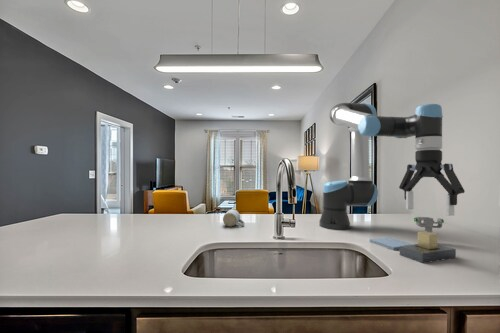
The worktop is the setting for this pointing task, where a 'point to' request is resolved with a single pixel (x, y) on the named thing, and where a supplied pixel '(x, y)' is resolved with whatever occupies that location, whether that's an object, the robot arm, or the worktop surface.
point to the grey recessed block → (427, 253)
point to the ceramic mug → (232, 218)
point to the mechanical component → (428, 223)
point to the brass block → (427, 240)
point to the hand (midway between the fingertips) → (428, 212)
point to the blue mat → (389, 243)
